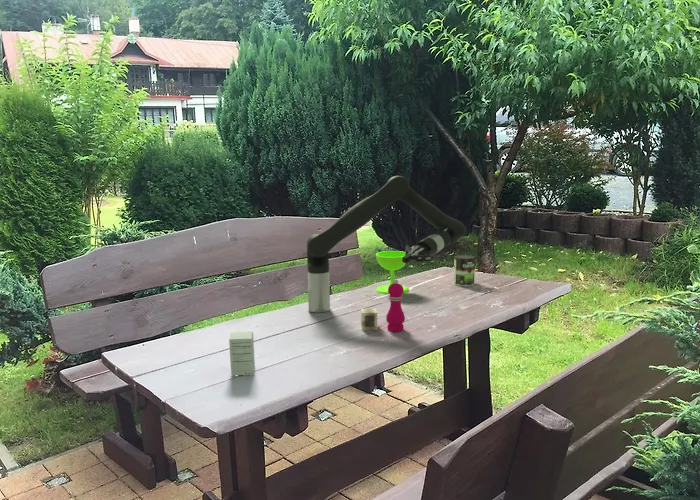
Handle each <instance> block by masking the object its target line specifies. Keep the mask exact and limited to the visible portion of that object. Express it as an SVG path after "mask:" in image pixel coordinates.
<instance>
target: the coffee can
mask: <svg viewBox="0 0 700 500" xmlns="http://www.w3.org/2000/svg"><path fill="white" fill-rule="evenodd" d="M453 258H454V263H453V267H454V268H453V269H454V271H453V285H455V286H458V287H473V286H475V270H476V269H475V268H476V267H475V266H476V256H475V255H472V254H456V255H454V257H453Z"/></svg>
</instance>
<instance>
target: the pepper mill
mask: <svg viewBox="0 0 700 500" xmlns="http://www.w3.org/2000/svg"><path fill="white" fill-rule="evenodd" d="M403 286H404V285H402V284H401V283H399V280H398V279H394V284H391V285H390V286H389V288H388V293H389V294H390V295H388V297H389V298H388V300H389V301H390V307H389V309H388V312H387V314H386V317H385V318H386V322H387V323H388V324H387V331H390V332H393V333H399V332H403V331H404V327H405V326H404V323H405V321H406V317H405V314H404V311H403V309H402V300H403V295H404V294H403V291H404V289H403Z"/></svg>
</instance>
